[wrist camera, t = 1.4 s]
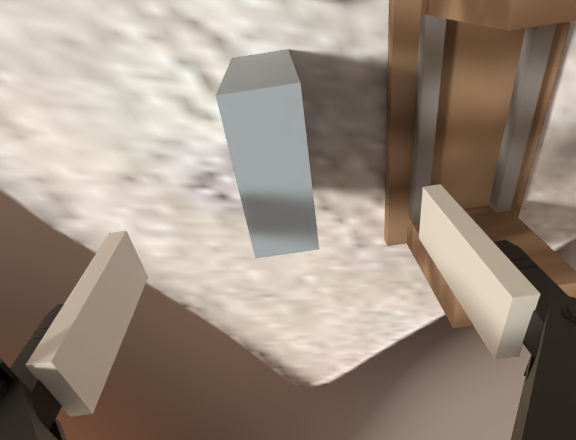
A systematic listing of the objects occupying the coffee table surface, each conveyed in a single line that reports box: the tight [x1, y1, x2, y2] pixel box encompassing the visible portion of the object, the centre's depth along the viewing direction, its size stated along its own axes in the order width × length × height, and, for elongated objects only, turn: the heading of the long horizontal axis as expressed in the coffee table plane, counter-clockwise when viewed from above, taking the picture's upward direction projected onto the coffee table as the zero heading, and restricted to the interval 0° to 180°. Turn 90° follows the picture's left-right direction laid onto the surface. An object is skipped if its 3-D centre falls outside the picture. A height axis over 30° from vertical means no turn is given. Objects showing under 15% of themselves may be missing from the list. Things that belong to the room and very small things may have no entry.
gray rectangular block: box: [216, 49, 319, 258], centre depth 24 cm, size 10×4×10 cm, turn 8°
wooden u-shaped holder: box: [385, 0, 576, 328], centre depth 24 cm, size 22×12×11 cm, turn 8°
